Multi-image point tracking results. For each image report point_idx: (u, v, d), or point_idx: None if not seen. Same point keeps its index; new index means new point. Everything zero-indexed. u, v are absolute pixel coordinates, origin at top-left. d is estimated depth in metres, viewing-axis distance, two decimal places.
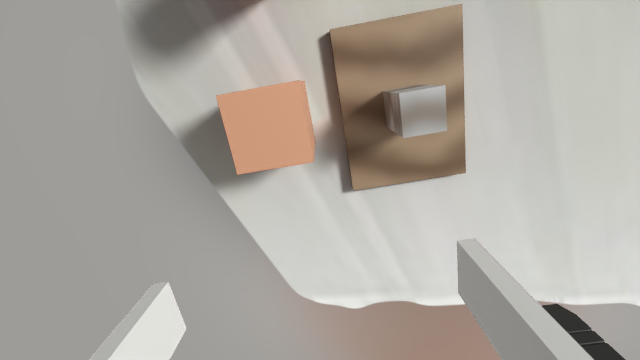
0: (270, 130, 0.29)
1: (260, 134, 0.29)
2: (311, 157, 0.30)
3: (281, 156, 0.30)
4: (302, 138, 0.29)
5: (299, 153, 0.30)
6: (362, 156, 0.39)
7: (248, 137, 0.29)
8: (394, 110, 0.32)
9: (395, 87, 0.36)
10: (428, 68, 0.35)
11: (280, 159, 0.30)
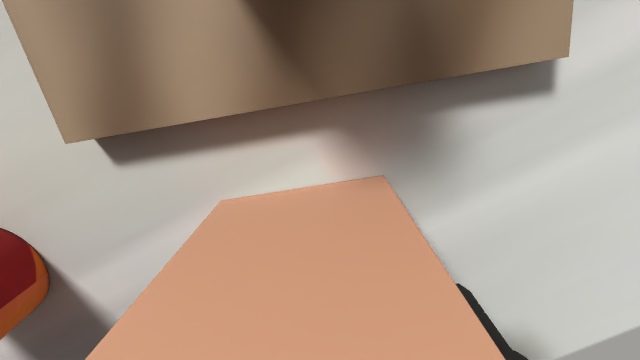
0: None
1: None
2: None
3: None
4: None
5: None
6: (444, 25, 0.11)
7: None
8: None
9: None
10: None
11: None
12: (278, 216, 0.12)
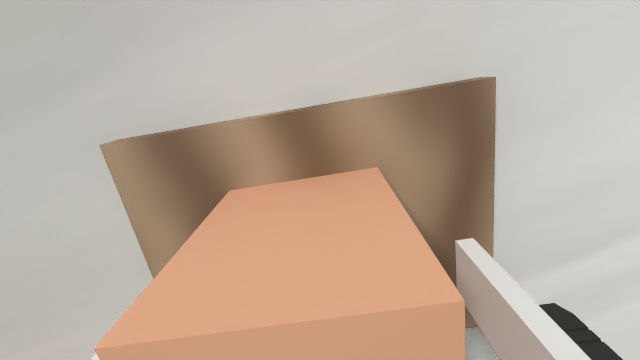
0: None
1: None
2: (439, 307, 0.06)
3: None
4: (343, 341, 0.06)
5: (413, 353, 0.06)
6: None
7: None
8: None
9: None
10: None
11: None
12: (282, 202, 0.13)
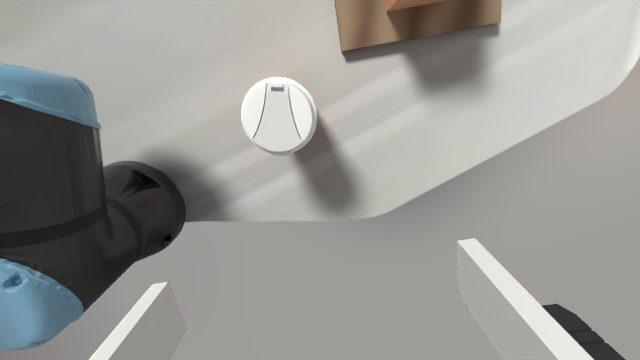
0: None
1: None
2: None
3: None
4: None
5: None
6: (464, 12, 0.37)
7: None
8: None
9: None
10: None
11: None
12: None
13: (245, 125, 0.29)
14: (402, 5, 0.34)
